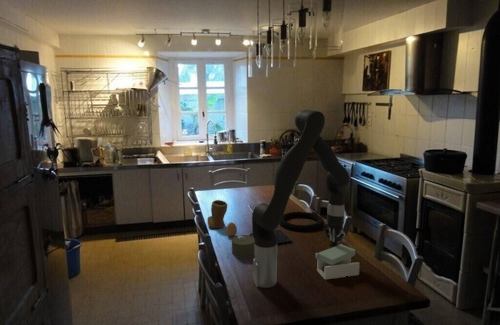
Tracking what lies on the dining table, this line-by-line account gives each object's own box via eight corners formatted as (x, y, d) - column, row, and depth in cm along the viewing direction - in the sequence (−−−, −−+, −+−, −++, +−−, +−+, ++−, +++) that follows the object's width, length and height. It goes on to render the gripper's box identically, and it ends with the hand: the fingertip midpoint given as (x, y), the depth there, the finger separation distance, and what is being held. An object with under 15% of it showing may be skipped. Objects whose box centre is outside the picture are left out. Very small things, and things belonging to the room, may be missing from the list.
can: (237, 259, 167) (237, 246, 166) (227, 250, 178) (227, 237, 176) (259, 255, 172) (259, 242, 171) (249, 245, 183) (249, 233, 181)
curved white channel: (325, 279, 149) (325, 267, 148) (316, 270, 156) (317, 259, 155) (358, 274, 153) (359, 263, 152) (349, 266, 160) (350, 255, 159)
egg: (225, 238, 192) (225, 224, 191) (226, 234, 198) (226, 220, 197) (236, 238, 192) (236, 224, 191) (237, 234, 198) (237, 220, 197)
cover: (330, 265, 149) (330, 260, 148) (314, 258, 156) (314, 252, 155) (355, 255, 159) (355, 250, 158) (339, 248, 166) (339, 243, 165)
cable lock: (269, 218, 214) (298, 207, 235) (269, 224, 214) (297, 212, 236) (307, 229, 195) (335, 216, 217) (307, 236, 196) (334, 222, 217)
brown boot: (228, 229, 206) (227, 204, 203) (207, 229, 204) (207, 205, 201) (226, 220, 220) (226, 197, 218) (207, 220, 219) (206, 197, 216)
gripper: (319, 210, 164) (317, 245, 168) (341, 218, 154) (338, 255, 157) (330, 207, 168) (328, 241, 172) (352, 215, 158) (349, 251, 161)
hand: (333, 248), depth 164 cm, fingers closed
